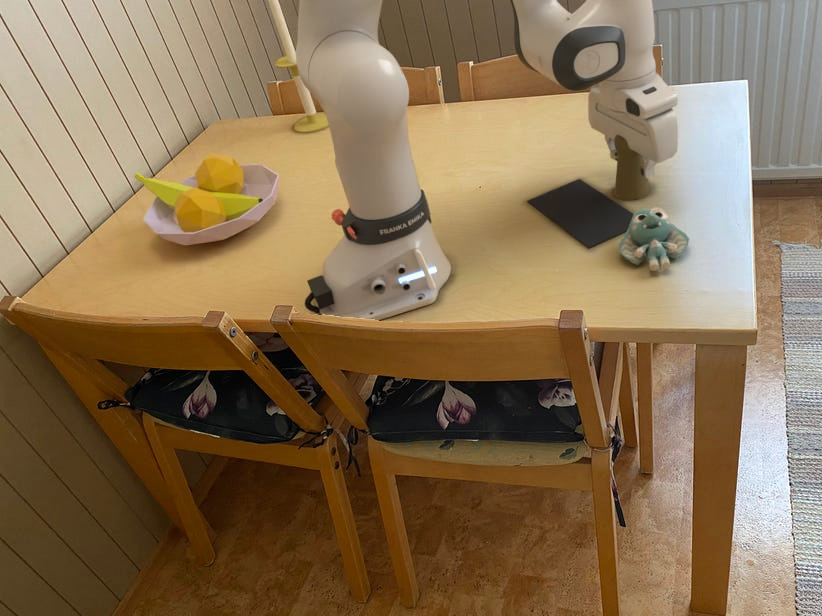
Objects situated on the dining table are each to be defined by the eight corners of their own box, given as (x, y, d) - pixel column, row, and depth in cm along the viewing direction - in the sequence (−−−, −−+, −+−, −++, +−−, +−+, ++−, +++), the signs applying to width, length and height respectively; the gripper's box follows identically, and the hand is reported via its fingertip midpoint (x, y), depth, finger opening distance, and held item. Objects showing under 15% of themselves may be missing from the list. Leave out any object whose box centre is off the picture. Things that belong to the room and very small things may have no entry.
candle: (294, 120, 184) (244, -22, 163) (334, 110, 184) (288, -33, 163) (294, 136, 176) (241, -11, 155) (335, 126, 176) (288, -22, 155)
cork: (649, 198, 127) (647, 138, 120) (613, 200, 129) (609, 141, 122) (650, 181, 132) (648, 121, 124) (616, 183, 133) (612, 124, 126)
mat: (589, 248, 119) (588, 247, 119) (527, 202, 134) (527, 200, 134) (646, 223, 122) (645, 221, 122) (579, 180, 136) (579, 178, 136)
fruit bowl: (315, 198, 150) (296, 145, 143) (213, 273, 135) (186, 218, 127) (225, 179, 164) (204, 131, 157) (124, 245, 149) (96, 195, 142)
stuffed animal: (622, 253, 107) (610, 198, 115) (624, 287, 113) (612, 233, 120) (699, 241, 106) (681, 187, 113) (696, 276, 112) (680, 222, 119)
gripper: (575, 77, 125) (583, 153, 134) (650, 112, 110) (653, 195, 119) (607, 65, 127) (612, 141, 136) (684, 98, 112) (685, 181, 121)
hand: (632, 167), depth 127 cm, fingers open, 7 cm apart
